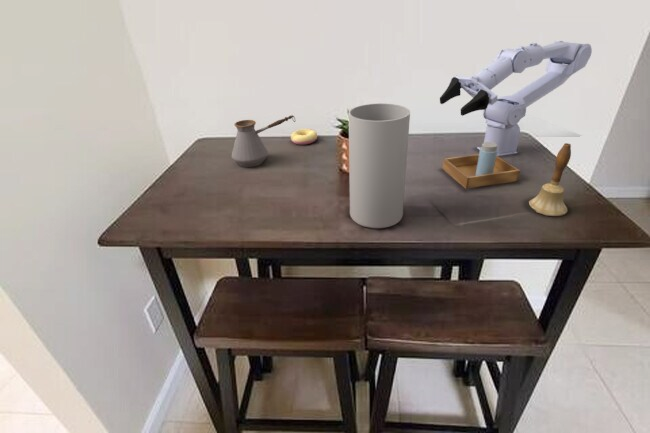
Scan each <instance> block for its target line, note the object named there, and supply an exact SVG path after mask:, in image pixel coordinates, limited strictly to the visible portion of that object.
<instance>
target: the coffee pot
mask: <svg viewBox="0 0 650 433" xmlns="http://www.w3.org/2000/svg"><path fill="white" fill-rule="evenodd" d="M291 119H292V121H293V122H294V123H295V122H296V117H295V115H293V114H291V115H289V116H285V117H284V118H281V119H278V120H276V121H274V122H272V123H270V124H268V125H267V126H264V127H261V128H259V129H257V130H256V129H255V125H256V121H255V120H254V119H243V120H238V121H236V122H235V123H234V127H236V130H237V131H236V136H235V140H234V144H233V147H232V151H231V159H232V160H233V162H235V163H236V164H238V165H239V166H241V167H245V168H252V167H256V166H259V165H262V164H263V163H264V161H265V160H266V159H267V157H268V154H269V151H268V149H267V147H266V145H265V144H264V142H263V140H262V139H261V137H260V135H259V134H260V133H262V132H264V131H267V130H268V129H271V128H274V127H277V126H279V125H281V124H283V123H284V122H288V121H289V120H291Z"/></svg>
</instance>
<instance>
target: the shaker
mask: <svg viewBox="0 0 650 433" xmlns="http://www.w3.org/2000/svg"><path fill="white" fill-rule="evenodd" d="M479 148H480V150H479V152H478V154H479V157H478V163H477V168H476V176H478V175H485V174H492V173H493V171H494V166H495V161H496V156H497V151H498V150H497V144H496V143H493V142H484V141H483V142H482V143H481V146H480V147H479Z"/></svg>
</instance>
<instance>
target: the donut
mask: <svg viewBox="0 0 650 433" xmlns="http://www.w3.org/2000/svg"><path fill="white" fill-rule="evenodd" d="M317 139H318V133H317V131H315V130H314V129H311V128H300V129H297V130H294V131H293V132H292V133H291V135H290V140H291V142H292V143H293V144H295V145H299V146H300V145H302V146H303V145H310V144H313V143H314V142H315V141H317Z"/></svg>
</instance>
